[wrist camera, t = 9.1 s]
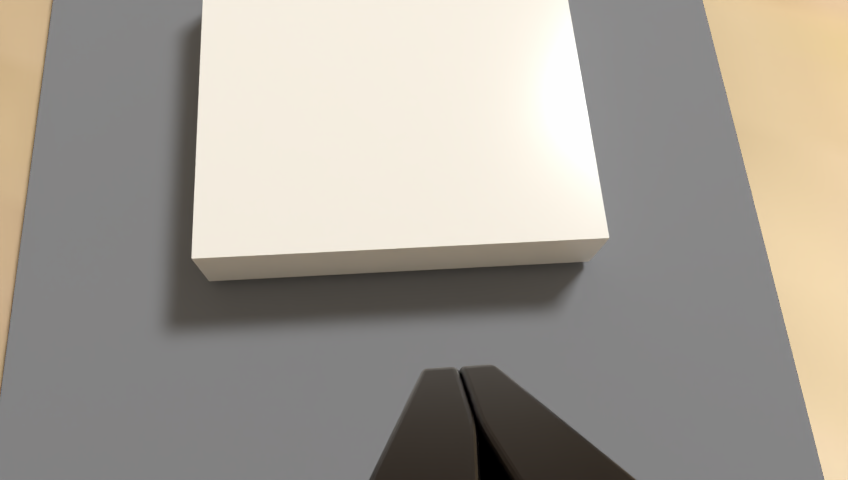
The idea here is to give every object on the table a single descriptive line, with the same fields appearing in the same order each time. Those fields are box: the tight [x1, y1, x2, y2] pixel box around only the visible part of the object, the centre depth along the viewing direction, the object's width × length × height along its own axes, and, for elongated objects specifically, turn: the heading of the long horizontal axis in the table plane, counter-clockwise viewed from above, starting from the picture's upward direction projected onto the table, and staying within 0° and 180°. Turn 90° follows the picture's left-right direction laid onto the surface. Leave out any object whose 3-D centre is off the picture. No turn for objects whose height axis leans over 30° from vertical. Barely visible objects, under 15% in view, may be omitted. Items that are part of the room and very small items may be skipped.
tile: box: [191, 0, 609, 281], centre depth 19 cm, size 2×10×9 cm
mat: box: [0, 0, 824, 480], centre depth 20 cm, size 20×20×1 cm
